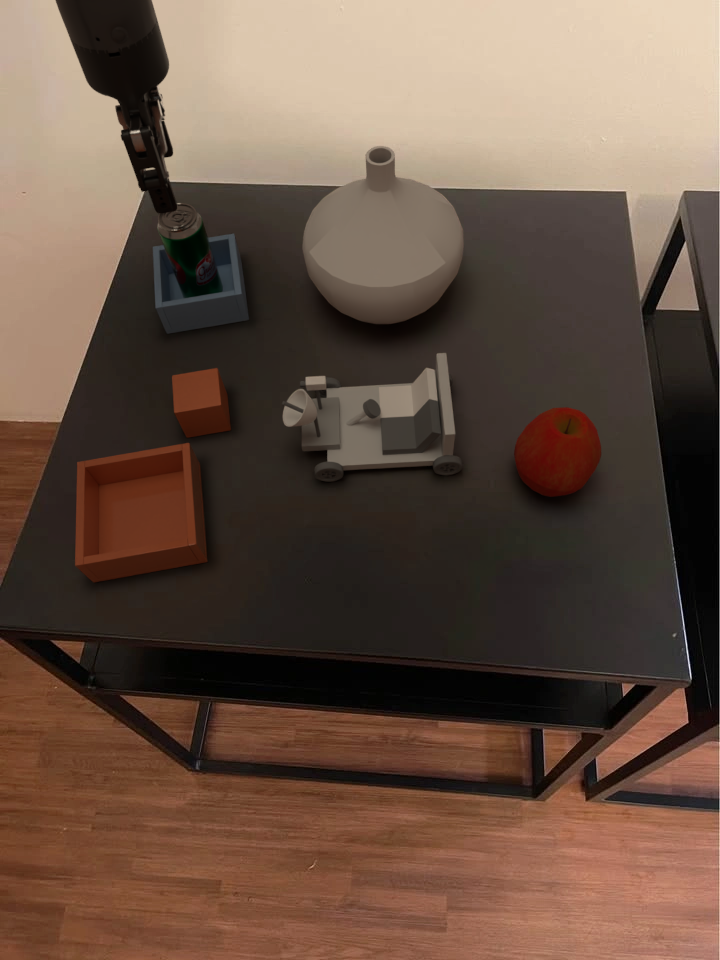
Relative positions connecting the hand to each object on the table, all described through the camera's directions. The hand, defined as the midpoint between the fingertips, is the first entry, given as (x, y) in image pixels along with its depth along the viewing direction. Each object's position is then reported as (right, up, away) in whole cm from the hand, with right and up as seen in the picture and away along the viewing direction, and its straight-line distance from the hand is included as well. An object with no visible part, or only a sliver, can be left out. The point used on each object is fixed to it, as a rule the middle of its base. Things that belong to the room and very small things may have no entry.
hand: (165, 182), depth 75 cm
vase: (+23, -8, +14) cm, 28 cm away
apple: (+40, -31, +1) cm, 50 cm away
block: (+3, -24, +6) cm, 25 cm away
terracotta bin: (-2, -35, 0) cm, 35 cm away
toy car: (+22, -26, +4) cm, 34 cm away
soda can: (+1, -8, +15) cm, 17 cm away
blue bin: (+1, -8, +15) cm, 17 cm away
